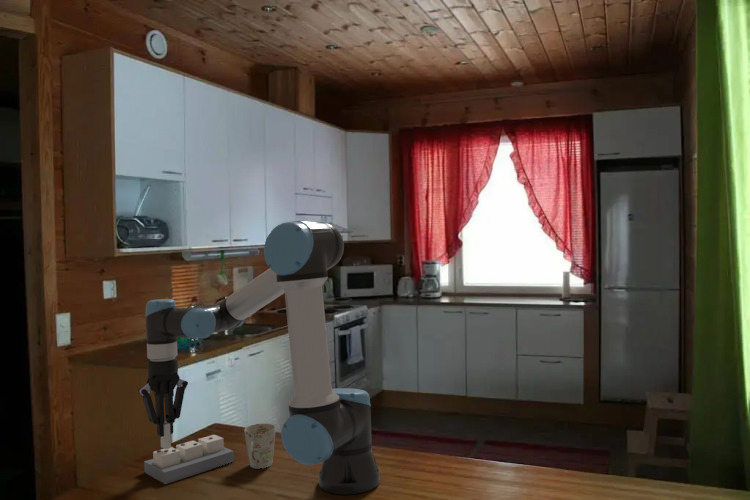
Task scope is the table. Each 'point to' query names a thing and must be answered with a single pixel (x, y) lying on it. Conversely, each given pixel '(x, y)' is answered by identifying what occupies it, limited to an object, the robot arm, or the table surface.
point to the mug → (260, 444)
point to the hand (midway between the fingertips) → (165, 447)
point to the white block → (211, 444)
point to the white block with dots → (166, 457)
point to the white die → (190, 450)
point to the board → (189, 466)
